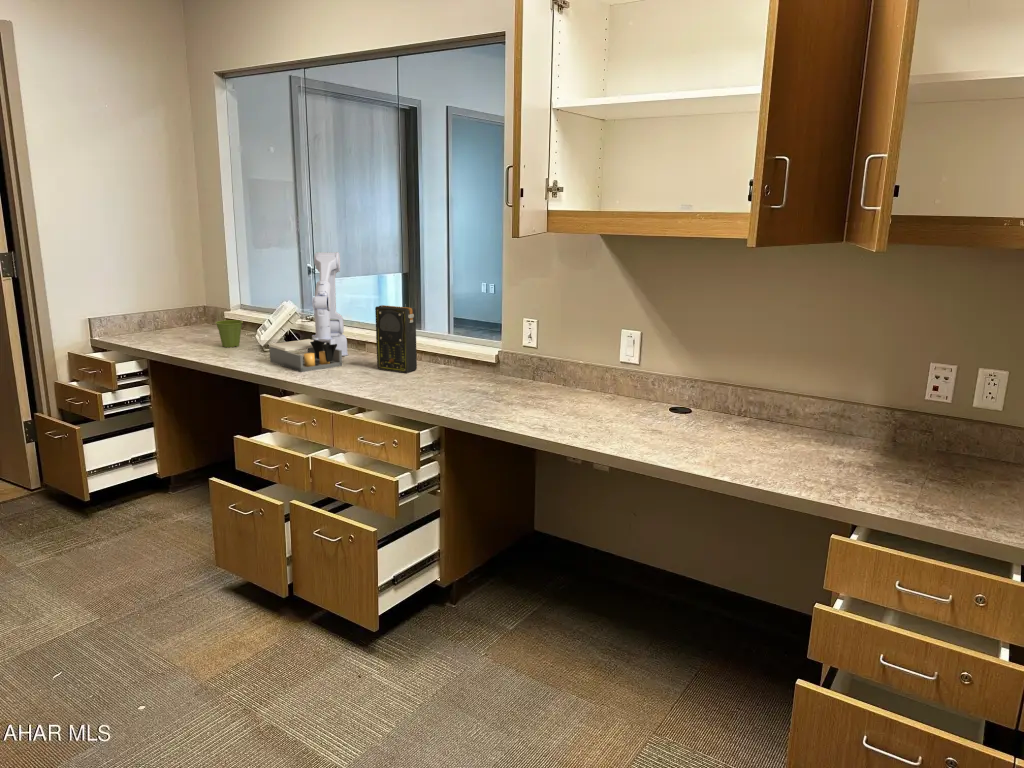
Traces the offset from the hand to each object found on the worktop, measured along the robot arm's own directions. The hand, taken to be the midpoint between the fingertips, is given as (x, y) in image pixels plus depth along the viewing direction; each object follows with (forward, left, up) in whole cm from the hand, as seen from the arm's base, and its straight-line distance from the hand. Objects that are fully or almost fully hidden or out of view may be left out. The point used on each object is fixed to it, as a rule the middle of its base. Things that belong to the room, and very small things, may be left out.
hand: (324, 360), depth 290 cm
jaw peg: (0, 0, -3) cm, 3 cm away
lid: (+3, -16, +3) cm, 16 cm away
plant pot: (+9, -67, -3) cm, 68 cm away
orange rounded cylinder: (+6, 0, -3) cm, 7 cm away
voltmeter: (-18, +25, -3) cm, 30 cm away
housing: (+3, -10, -3) cm, 10 cm away
